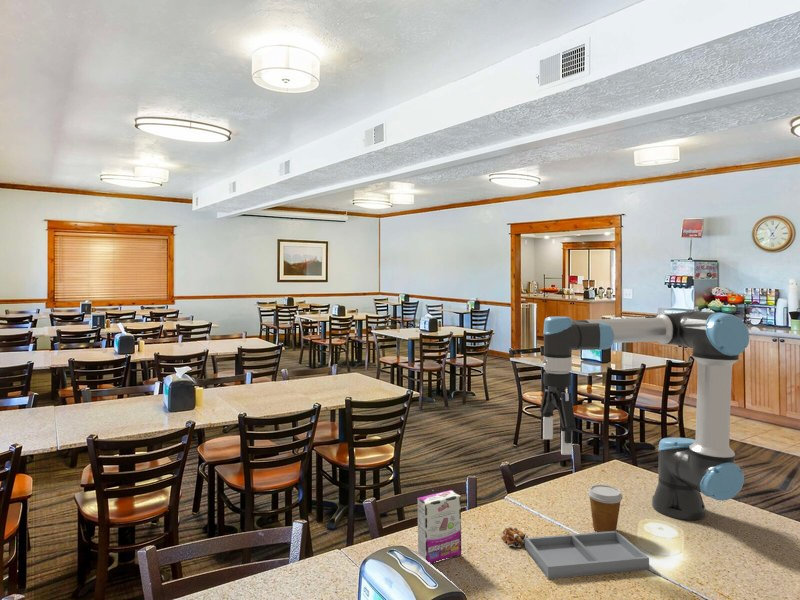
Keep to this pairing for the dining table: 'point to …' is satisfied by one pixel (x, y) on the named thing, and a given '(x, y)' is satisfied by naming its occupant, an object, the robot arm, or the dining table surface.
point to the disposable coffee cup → (604, 507)
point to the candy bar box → (439, 526)
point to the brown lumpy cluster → (513, 536)
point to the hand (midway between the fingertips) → (556, 446)
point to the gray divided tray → (585, 554)
